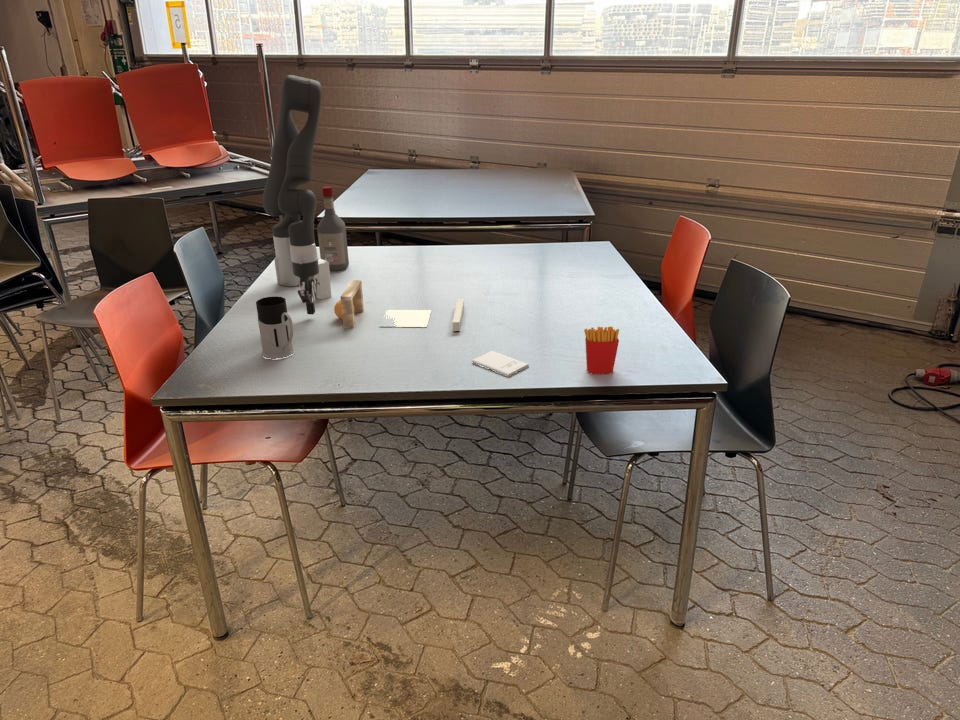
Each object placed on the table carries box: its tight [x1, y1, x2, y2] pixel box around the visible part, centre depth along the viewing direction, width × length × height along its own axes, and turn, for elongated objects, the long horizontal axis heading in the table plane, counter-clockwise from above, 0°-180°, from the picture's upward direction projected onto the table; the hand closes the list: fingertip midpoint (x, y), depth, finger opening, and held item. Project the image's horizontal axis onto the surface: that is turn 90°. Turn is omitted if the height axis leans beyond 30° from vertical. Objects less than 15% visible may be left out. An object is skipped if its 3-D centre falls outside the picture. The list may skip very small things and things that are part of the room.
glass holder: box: [255, 295, 296, 359], centre depth 174 cm, size 9×14×15 cm, turn 43°
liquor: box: [316, 185, 350, 273], centre depth 243 cm, size 9×9×30 cm
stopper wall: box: [452, 298, 465, 332], centre depth 200 cm, size 2×20×3 cm, turn 177°
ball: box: [333, 299, 354, 320], centre depth 201 cm, size 6×6×6 cm
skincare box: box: [314, 257, 332, 300], centre depth 219 cm, size 6×4×12 cm
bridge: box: [339, 279, 365, 328], centre depth 200 cm, size 3×15×10 cm, turn 178°
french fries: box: [584, 326, 620, 375], centre depth 165 cm, size 8×4×12 cm, turn 90°
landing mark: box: [383, 309, 433, 328], centre depth 202 cm, size 14×14×1 cm
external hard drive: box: [471, 350, 530, 377], centre depth 172 cm, size 2×8×12 cm
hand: (311, 313), depth 202 cm, fingers closed
